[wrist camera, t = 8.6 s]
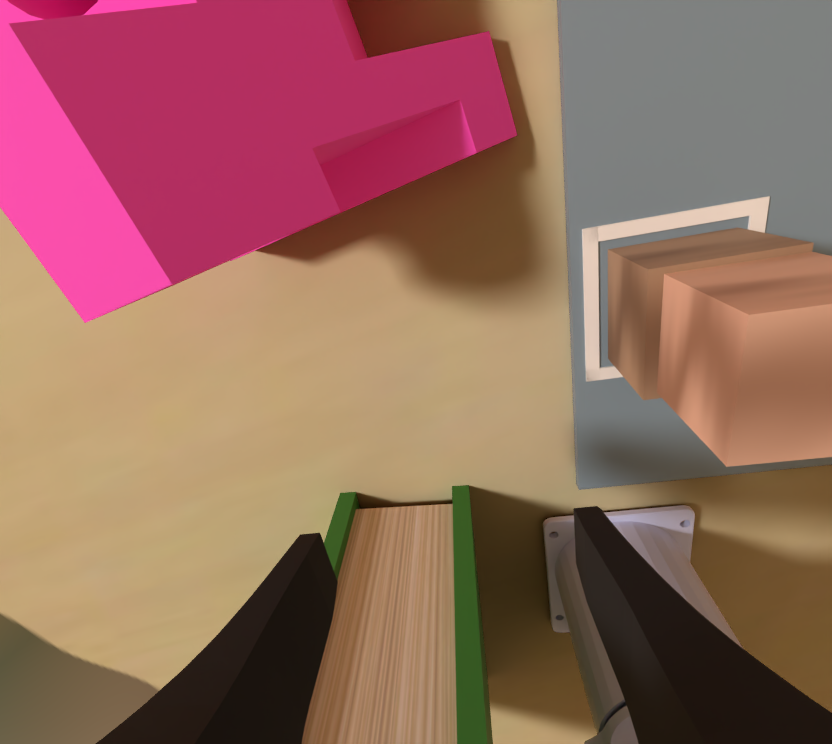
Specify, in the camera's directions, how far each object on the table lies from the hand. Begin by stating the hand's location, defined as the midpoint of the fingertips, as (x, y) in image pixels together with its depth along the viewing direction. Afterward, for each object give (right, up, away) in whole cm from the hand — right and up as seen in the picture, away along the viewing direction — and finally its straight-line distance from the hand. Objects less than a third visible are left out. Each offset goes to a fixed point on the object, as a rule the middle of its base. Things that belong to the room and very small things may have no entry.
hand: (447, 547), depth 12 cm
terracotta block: (+10, +7, +3) cm, 12 cm away
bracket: (-4, +17, +4) cm, 18 cm away
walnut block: (+10, +8, +6) cm, 14 cm away
